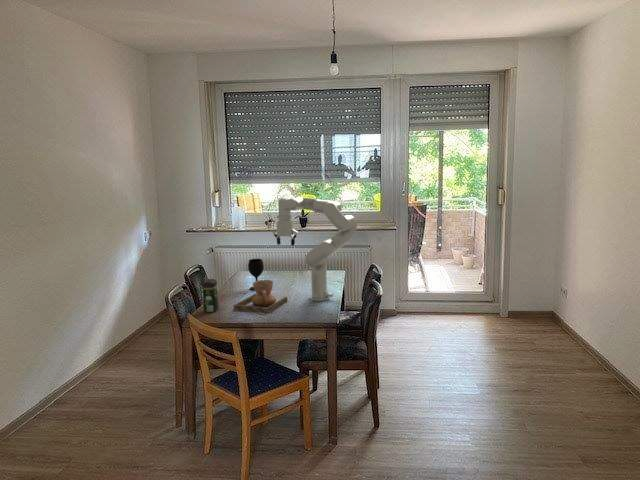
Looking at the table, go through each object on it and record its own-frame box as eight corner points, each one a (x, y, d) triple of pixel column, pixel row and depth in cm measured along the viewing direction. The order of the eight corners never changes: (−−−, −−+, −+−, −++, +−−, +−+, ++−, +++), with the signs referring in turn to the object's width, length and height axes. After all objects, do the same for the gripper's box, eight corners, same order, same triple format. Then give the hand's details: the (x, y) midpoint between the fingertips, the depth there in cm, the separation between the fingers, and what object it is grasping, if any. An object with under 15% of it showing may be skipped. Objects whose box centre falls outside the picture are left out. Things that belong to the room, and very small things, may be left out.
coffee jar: (207, 308, 299) (205, 277, 296) (220, 308, 298) (218, 277, 295) (201, 312, 289) (199, 281, 286) (215, 313, 288) (213, 281, 285)
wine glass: (261, 290, 334) (260, 261, 331) (247, 290, 336) (245, 261, 333) (266, 287, 344) (265, 258, 341) (252, 286, 346) (250, 258, 343)
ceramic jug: (252, 301, 310) (250, 279, 307) (275, 299, 312) (274, 277, 309) (252, 310, 292) (250, 287, 290) (276, 308, 294) (275, 285, 291)
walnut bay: (287, 301, 308) (287, 296, 307) (268, 313, 285) (268, 308, 284) (254, 298, 316) (254, 294, 316) (233, 309, 293) (233, 305, 293)
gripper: (269, 218, 313) (270, 245, 315) (294, 219, 306) (295, 246, 309) (275, 217, 319) (276, 243, 322) (299, 217, 313) (300, 244, 316)
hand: (285, 244), depth 316 cm, fingers open, 9 cm apart
